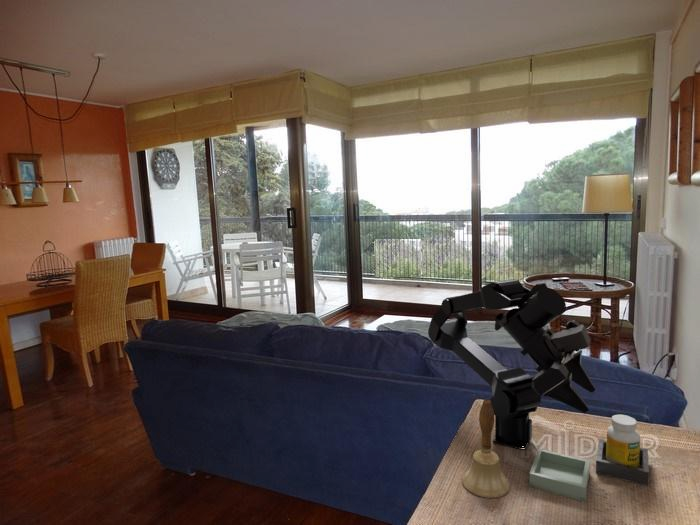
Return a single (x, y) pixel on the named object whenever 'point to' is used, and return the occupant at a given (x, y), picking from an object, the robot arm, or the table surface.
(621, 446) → the supplement bottle
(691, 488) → the table surface
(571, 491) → the tray
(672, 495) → the table surface
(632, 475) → the collar
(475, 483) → the hand bell
